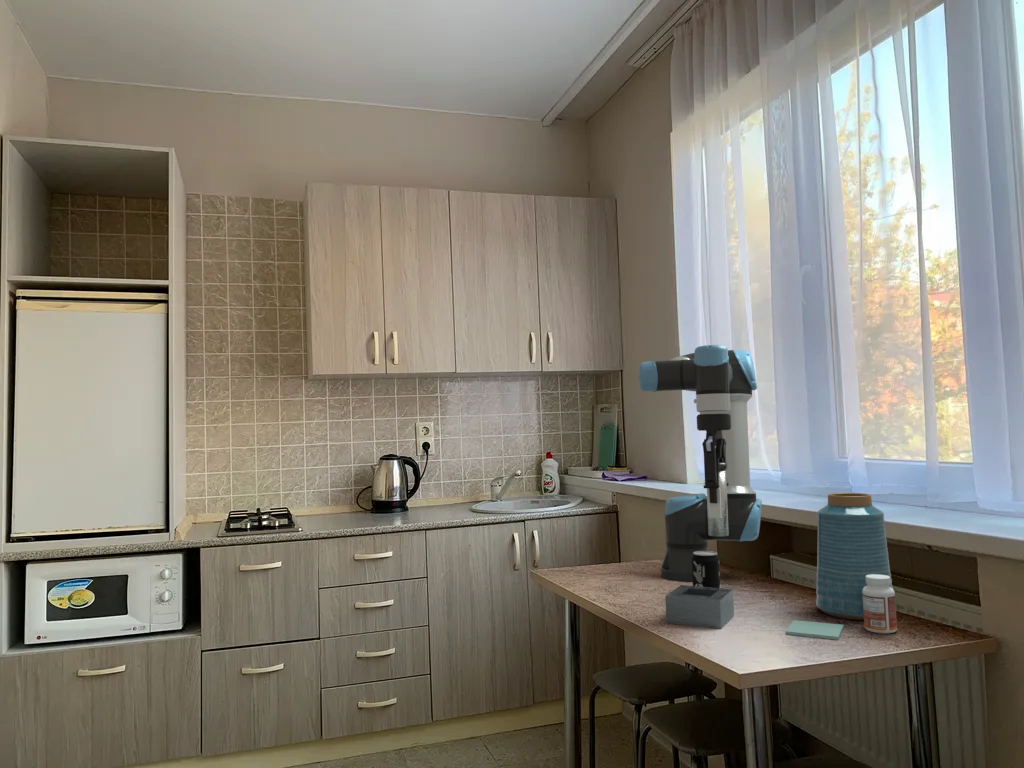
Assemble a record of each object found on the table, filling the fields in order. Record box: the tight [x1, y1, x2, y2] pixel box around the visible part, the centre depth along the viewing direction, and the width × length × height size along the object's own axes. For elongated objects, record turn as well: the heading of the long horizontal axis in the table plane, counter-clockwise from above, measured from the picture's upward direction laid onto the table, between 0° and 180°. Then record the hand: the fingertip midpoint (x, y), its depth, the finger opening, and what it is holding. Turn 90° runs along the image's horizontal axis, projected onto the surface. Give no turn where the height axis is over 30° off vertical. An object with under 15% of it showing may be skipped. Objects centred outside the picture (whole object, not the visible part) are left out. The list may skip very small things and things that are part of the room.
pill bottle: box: [862, 574, 898, 635], centre depth 158 cm, size 6×6×11 cm
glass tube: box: [706, 462, 729, 536], centre depth 172 cm, size 5×5×16 cm
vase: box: [815, 492, 894, 621], centre depth 174 cm, size 16×16×27 cm
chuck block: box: [665, 584, 735, 630], centre depth 170 cm, size 12×12×6 cm
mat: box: [785, 619, 844, 641], centre depth 158 cm, size 10×10×1 cm
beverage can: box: [692, 550, 721, 588], centre depth 187 cm, size 7×7×12 cm
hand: (717, 516), depth 172 cm, fingers closed on glass tube, 4 cm apart
